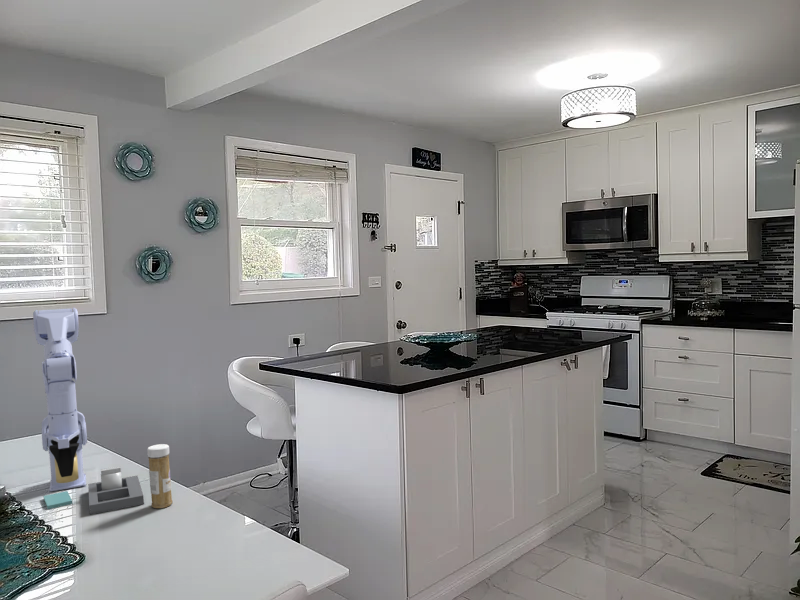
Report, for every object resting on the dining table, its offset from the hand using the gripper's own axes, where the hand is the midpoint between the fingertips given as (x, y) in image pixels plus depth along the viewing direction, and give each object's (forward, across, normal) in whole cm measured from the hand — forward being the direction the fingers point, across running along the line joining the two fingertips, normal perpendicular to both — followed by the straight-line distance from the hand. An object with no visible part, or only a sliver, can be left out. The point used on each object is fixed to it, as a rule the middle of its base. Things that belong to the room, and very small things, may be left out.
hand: (66, 472), depth 141 cm
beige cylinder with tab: (+2, 0, 0) cm, 2 cm away
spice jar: (+9, +7, +18) cm, 22 cm away
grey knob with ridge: (+9, -8, +9) cm, 15 cm away
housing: (+9, -4, +9) cm, 14 cm away
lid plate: (+9, -9, -3) cm, 13 cm away
